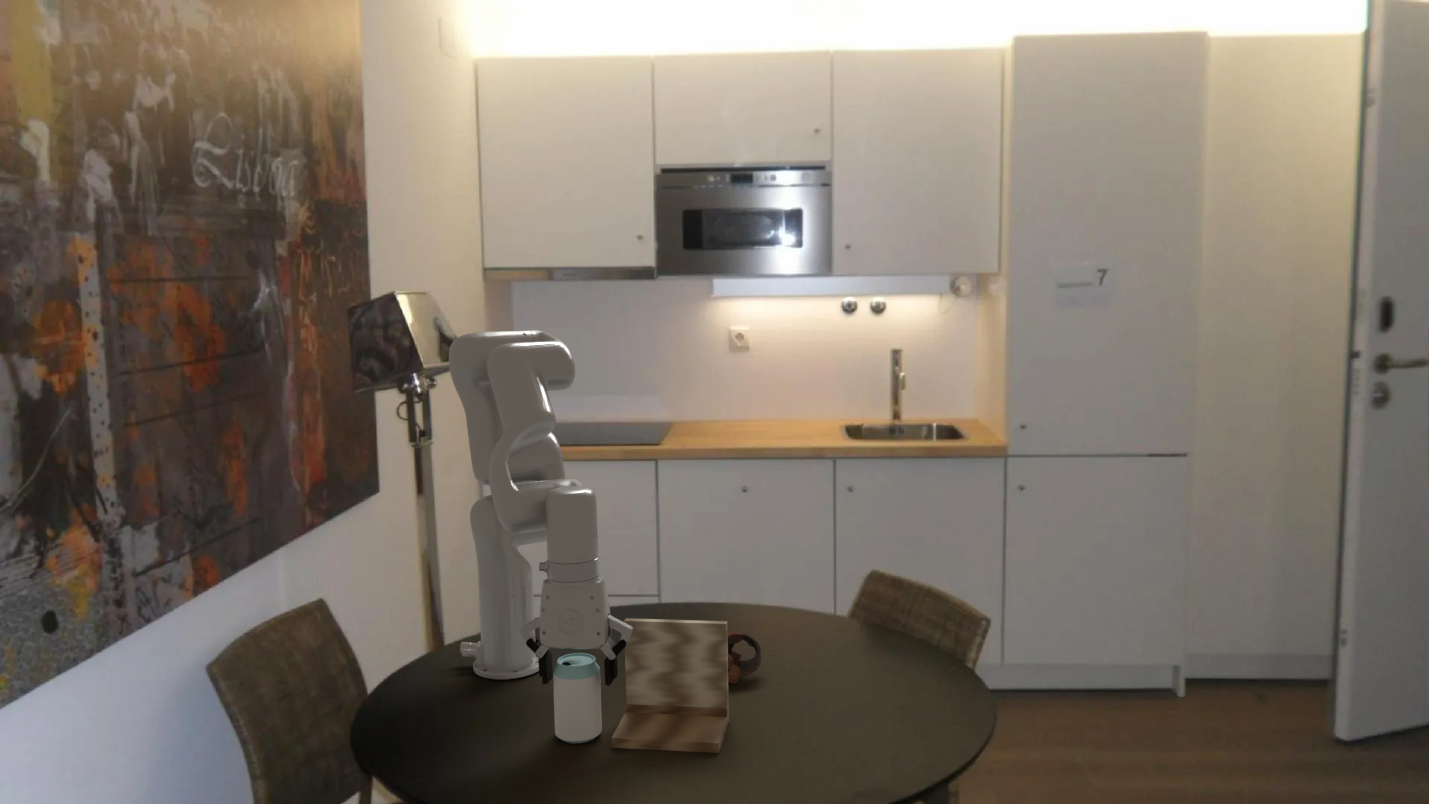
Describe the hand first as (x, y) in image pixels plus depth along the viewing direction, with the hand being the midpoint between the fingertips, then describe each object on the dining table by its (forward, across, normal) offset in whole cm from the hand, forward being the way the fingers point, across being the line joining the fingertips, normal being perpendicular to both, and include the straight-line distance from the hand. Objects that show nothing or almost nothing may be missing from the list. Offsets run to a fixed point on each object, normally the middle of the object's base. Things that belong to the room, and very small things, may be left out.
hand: (578, 681), depth 157 cm
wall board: (+9, +13, +3) cm, 16 cm away
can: (+9, -1, +1) cm, 9 cm away
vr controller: (+9, +19, +28) cm, 35 cm away
